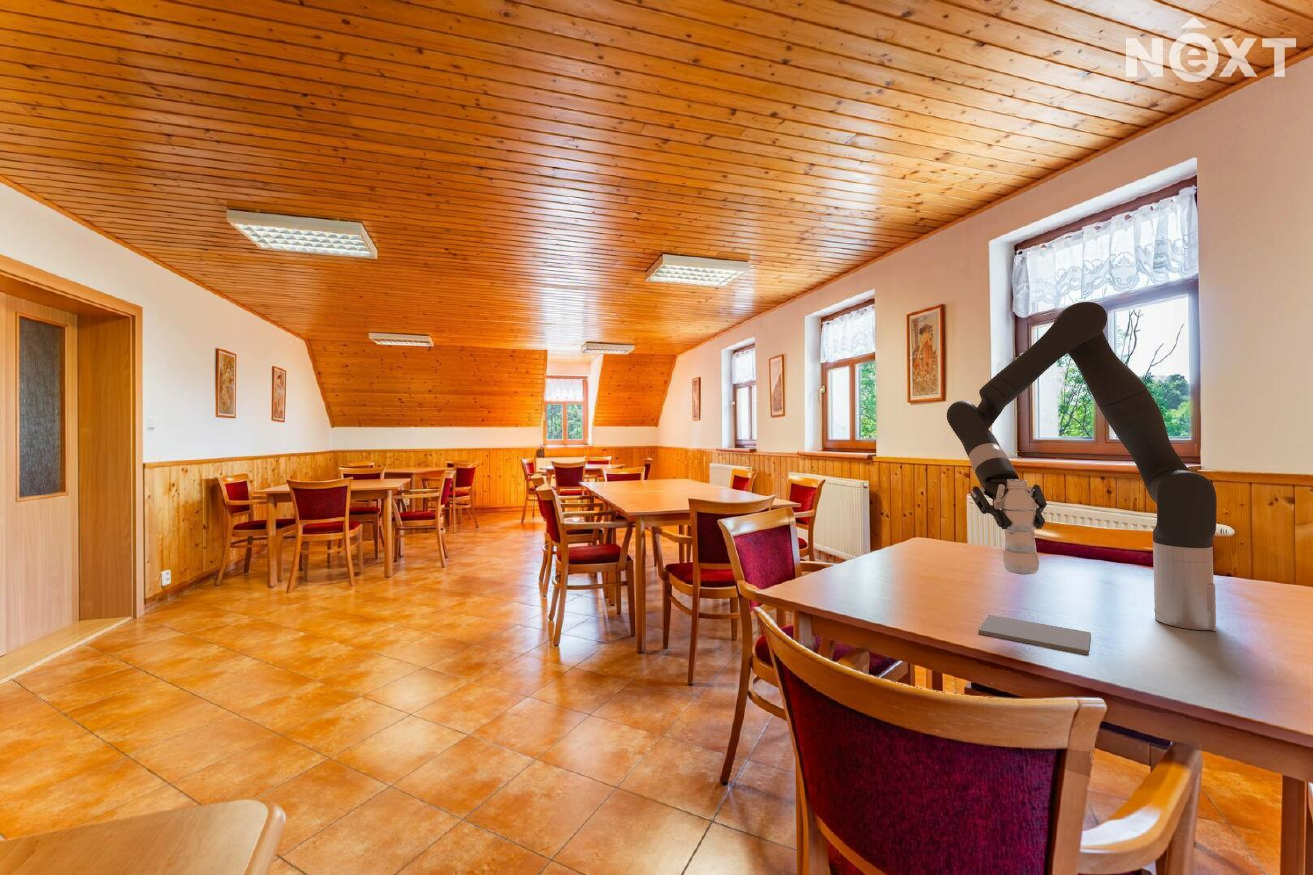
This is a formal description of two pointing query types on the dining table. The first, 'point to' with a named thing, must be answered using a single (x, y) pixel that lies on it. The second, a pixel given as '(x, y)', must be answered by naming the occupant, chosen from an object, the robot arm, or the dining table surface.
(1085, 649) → the grey rubber mat
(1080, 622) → the dining table surface
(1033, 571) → the plastic bottle
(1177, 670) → the dining table surface
